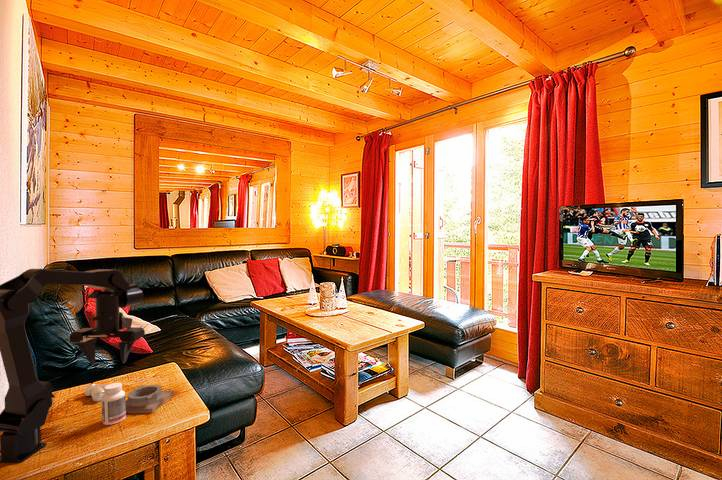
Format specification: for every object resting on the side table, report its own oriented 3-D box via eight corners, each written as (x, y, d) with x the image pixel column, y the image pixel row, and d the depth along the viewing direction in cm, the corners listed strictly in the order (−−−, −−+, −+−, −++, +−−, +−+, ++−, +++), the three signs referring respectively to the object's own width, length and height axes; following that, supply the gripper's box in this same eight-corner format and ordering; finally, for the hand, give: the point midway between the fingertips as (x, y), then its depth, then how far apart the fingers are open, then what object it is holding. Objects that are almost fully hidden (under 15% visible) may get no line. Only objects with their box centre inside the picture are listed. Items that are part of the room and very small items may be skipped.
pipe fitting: (102, 404, 105) (118, 392, 112) (101, 392, 105) (117, 381, 112) (76, 404, 105) (94, 392, 112) (75, 392, 105) (92, 381, 112)
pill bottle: (130, 414, 98) (129, 381, 98) (117, 425, 93) (116, 389, 92) (111, 415, 98) (109, 381, 98) (97, 426, 93) (96, 390, 92)
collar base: (152, 412, 99) (152, 400, 99) (114, 413, 99) (114, 400, 99) (173, 394, 110) (173, 383, 110) (139, 394, 110) (138, 383, 110)
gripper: (154, 305, 111) (155, 353, 111) (95, 306, 111) (96, 354, 111) (132, 313, 100) (133, 366, 100) (67, 313, 99) (68, 367, 100)
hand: (108, 363), depth 103 cm, fingers open, 9 cm apart
